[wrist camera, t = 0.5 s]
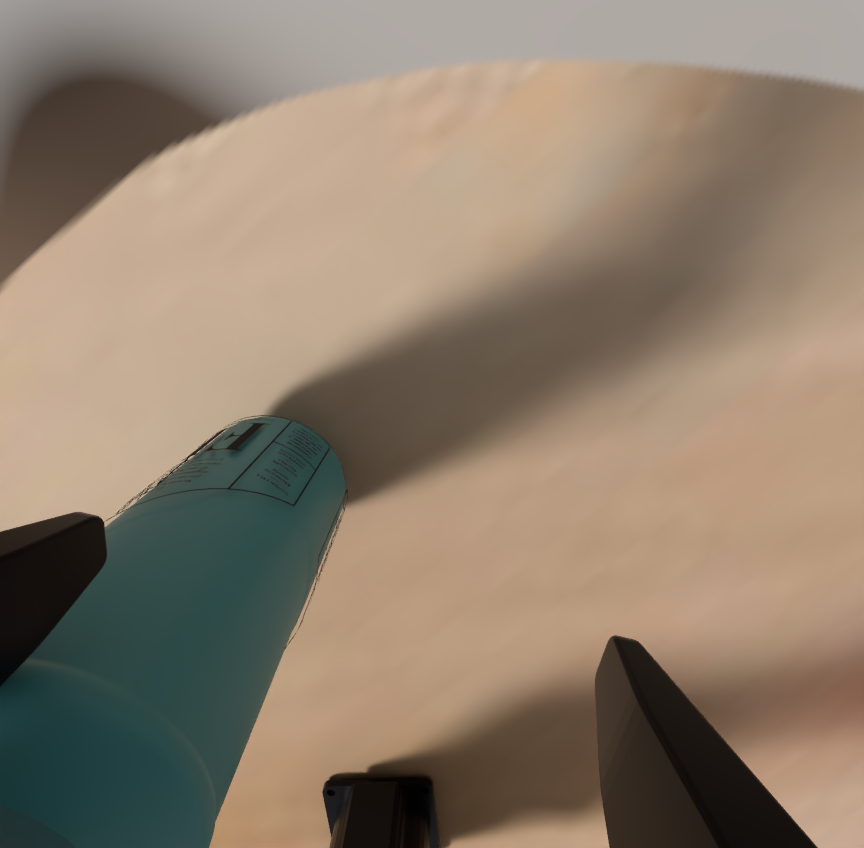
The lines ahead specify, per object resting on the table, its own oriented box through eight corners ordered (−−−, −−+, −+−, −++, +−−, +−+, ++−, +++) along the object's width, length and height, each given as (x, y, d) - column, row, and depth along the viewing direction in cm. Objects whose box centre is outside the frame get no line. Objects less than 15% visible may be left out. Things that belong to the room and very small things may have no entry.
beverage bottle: (297, 373, 22) (-639, 1085, 3) (385, 485, 24) (147, 1412, 5) (190, 450, 23) (-942, 1294, 4) (281, 552, 25) (-243, 1492, 6)
